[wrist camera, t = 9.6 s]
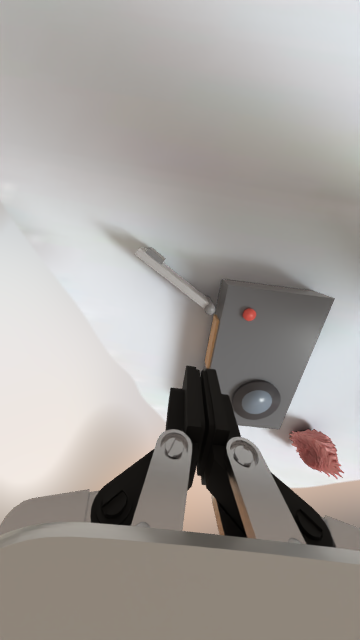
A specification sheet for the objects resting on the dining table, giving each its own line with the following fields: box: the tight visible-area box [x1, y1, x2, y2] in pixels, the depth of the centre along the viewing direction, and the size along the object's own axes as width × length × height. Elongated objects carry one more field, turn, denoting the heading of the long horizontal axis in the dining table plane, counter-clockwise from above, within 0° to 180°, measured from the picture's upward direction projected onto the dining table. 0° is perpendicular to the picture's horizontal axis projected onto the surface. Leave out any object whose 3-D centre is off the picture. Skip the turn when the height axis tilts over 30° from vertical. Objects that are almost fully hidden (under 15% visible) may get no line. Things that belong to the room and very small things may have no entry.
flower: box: [289, 429, 344, 479], centre depth 32 cm, size 8×8×6 cm
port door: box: [135, 247, 215, 315], centre depth 23 cm, size 2×11×4 cm, turn 52°
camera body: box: [204, 279, 335, 429], centre depth 27 cm, size 12×20×4 cm, turn 173°
